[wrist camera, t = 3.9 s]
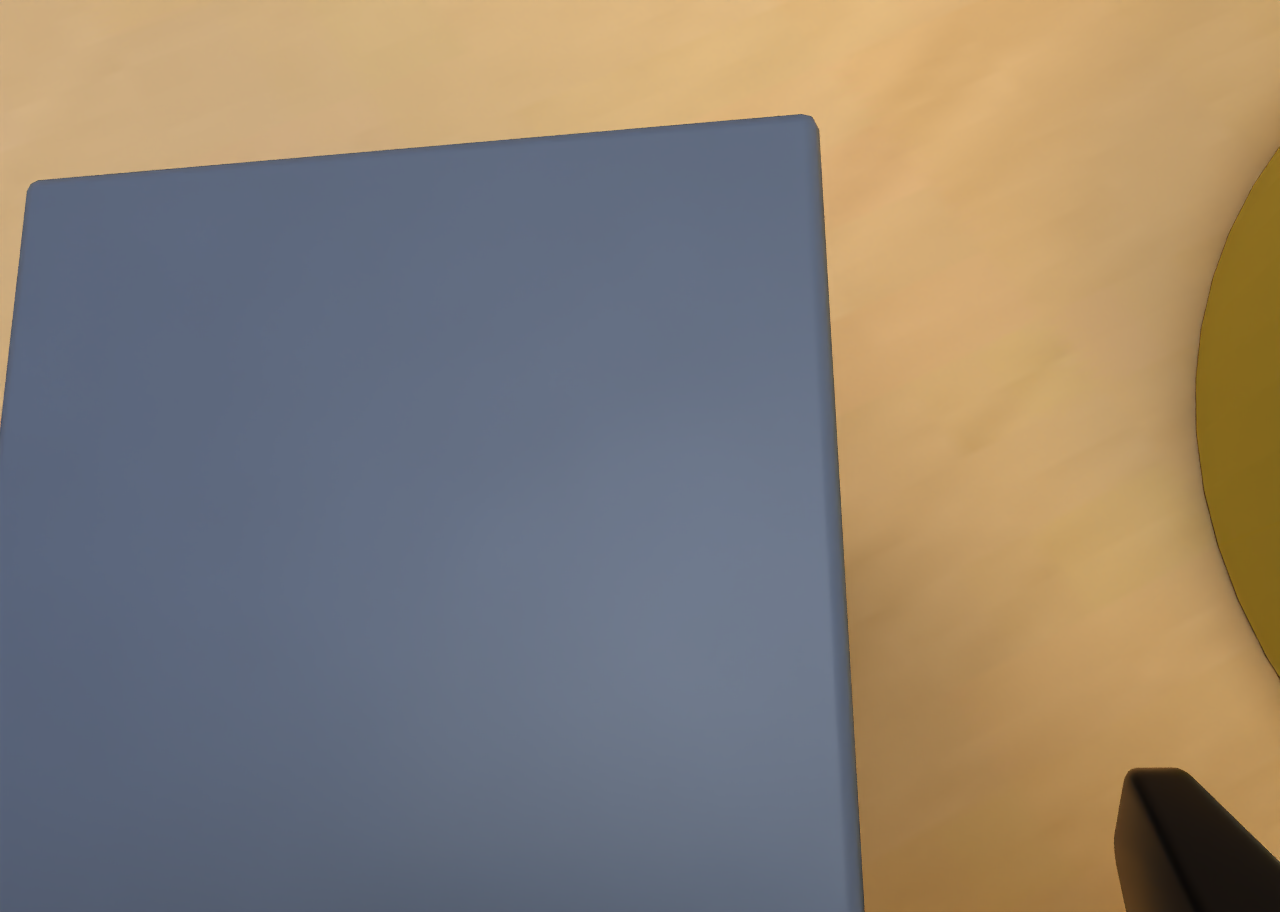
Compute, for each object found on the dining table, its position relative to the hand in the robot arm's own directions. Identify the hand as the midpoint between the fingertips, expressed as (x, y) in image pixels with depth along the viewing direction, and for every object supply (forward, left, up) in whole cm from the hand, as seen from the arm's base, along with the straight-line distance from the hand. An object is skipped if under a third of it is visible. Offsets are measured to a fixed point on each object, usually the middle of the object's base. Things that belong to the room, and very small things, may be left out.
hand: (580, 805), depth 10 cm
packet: (+1, 0, -8) cm, 8 cm away
